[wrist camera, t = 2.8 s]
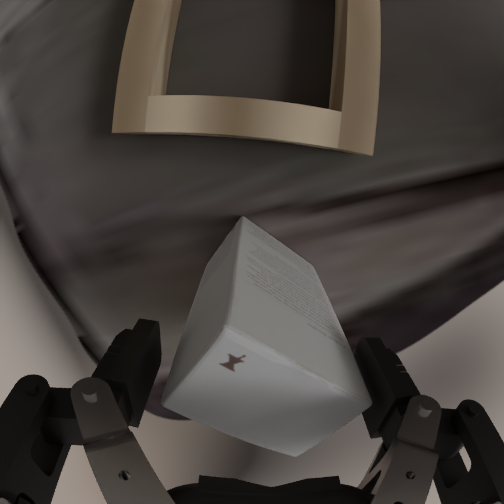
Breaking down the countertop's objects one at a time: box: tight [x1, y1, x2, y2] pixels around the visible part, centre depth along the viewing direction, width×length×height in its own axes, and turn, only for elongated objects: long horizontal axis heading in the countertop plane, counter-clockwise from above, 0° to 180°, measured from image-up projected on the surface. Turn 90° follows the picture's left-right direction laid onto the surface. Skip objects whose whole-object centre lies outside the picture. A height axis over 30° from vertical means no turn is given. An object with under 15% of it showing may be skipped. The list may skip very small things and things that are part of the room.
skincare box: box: [161, 216, 372, 457], centre depth 14 cm, size 6×4×12 cm
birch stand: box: [112, 0, 381, 156], centre depth 13 cm, size 14×14×3 cm
